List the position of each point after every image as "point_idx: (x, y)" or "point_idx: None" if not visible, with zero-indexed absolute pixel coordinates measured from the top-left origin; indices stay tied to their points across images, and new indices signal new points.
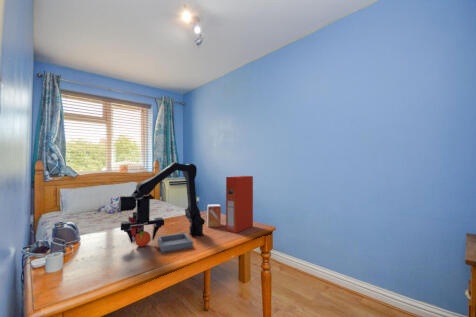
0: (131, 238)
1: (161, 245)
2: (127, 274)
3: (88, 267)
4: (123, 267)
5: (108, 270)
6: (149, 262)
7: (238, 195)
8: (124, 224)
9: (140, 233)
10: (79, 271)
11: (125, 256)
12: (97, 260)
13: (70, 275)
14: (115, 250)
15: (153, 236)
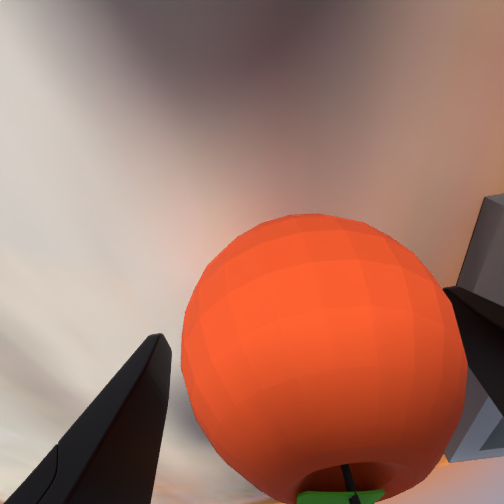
0: (150, 457)
1: (455, 454)
2: (245, 497)
3: (27, 463)
4: (213, 473)
5: (154, 481)
6: None
7: None
8: None
9: (290, 500)
10: (14, 478)
11: (180, 407)
12: (8, 424)
13: (4, 491)
14: (15, 313)
15: (486, 382)
